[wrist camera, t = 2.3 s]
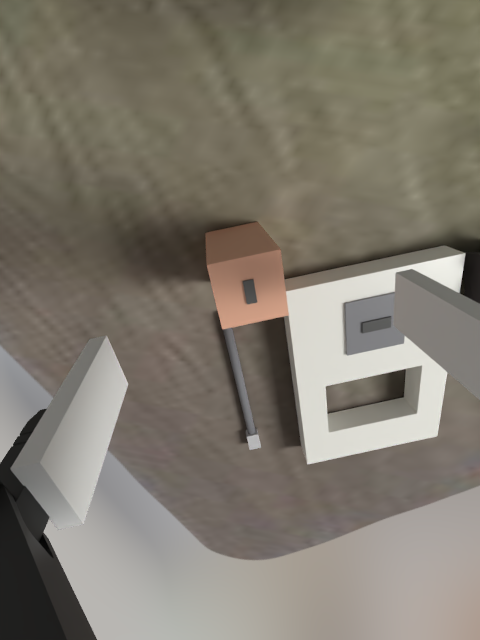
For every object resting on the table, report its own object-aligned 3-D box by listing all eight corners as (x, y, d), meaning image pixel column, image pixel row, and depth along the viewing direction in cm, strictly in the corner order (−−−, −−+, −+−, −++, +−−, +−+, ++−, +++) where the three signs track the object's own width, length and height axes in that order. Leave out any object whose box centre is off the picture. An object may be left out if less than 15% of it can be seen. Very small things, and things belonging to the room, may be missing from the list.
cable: (216, 311, 27) (216, 316, 26) (230, 308, 27) (231, 313, 26) (248, 443, 35) (249, 449, 34) (259, 440, 35) (261, 447, 34)
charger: (205, 232, 24) (206, 265, 17) (257, 221, 24) (281, 249, 17) (216, 281, 26) (222, 330, 19) (265, 271, 26) (289, 316, 19)
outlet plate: (278, 280, 26) (286, 293, 24) (444, 245, 26) (468, 254, 24) (301, 445, 36) (308, 467, 33) (423, 419, 36) (439, 438, 33)
